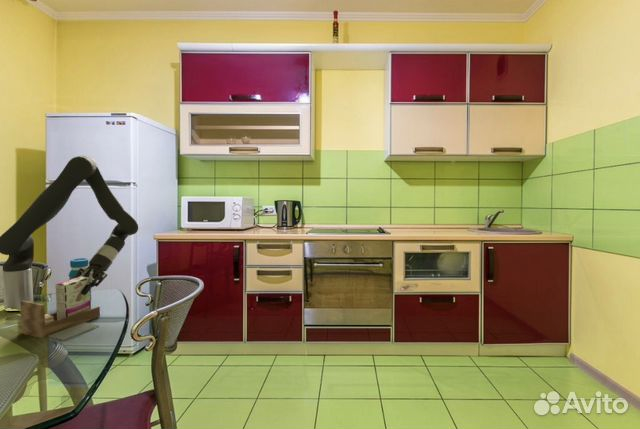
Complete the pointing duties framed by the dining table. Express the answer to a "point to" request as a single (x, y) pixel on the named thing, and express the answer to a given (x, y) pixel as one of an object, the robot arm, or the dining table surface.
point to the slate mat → (73, 331)
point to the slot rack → (36, 323)
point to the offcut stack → (48, 319)
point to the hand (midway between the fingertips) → (77, 293)
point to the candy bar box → (72, 297)
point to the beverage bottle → (77, 267)
